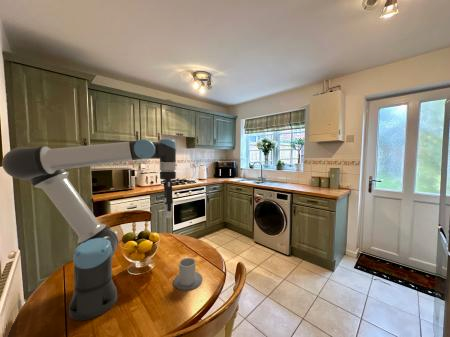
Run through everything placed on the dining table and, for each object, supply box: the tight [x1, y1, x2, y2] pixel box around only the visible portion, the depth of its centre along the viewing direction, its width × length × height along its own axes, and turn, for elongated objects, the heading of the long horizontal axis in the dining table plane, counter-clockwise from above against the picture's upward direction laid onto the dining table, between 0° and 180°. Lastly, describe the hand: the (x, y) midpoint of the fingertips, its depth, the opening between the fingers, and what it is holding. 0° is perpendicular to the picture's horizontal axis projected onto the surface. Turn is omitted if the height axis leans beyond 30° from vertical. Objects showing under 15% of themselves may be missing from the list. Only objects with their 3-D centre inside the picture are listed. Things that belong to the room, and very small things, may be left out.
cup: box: [178, 257, 196, 286], centre depth 87 cm, size 7×10×9 cm
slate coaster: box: [173, 271, 203, 291], centre depth 87 cm, size 13×13×1 cm
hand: (168, 213), depth 94 cm, fingers open, 13 cm apart
